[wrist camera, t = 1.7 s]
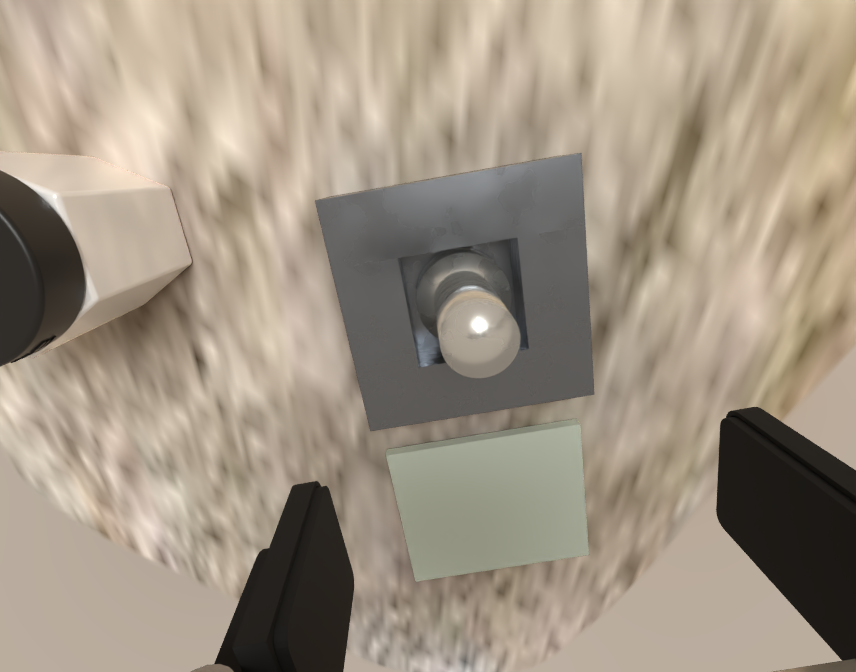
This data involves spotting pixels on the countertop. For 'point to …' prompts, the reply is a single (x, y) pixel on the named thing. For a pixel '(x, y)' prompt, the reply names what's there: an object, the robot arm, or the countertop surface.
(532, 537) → the mat
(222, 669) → the robot arm
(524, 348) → the housing
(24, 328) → the jar
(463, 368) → the grey rounded knob
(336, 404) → the countertop surface
